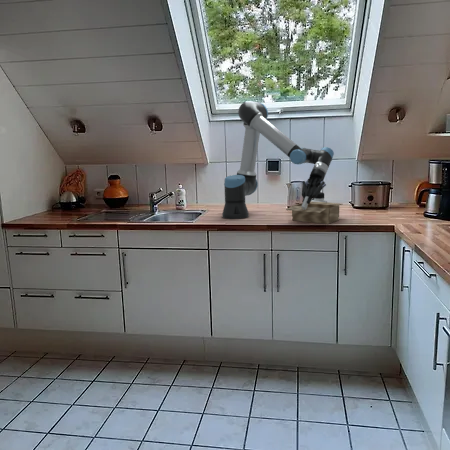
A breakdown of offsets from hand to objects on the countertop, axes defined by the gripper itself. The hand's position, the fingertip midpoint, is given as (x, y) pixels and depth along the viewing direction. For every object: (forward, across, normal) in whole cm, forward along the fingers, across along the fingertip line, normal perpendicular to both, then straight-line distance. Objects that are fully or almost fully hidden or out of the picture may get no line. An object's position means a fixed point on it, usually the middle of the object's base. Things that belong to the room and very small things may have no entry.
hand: (303, 208), depth 227 cm
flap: (-5, 0, +5) cm, 7 cm away
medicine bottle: (-20, -10, +32) cm, 39 cm away
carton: (-6, -1, +18) cm, 19 cm away
